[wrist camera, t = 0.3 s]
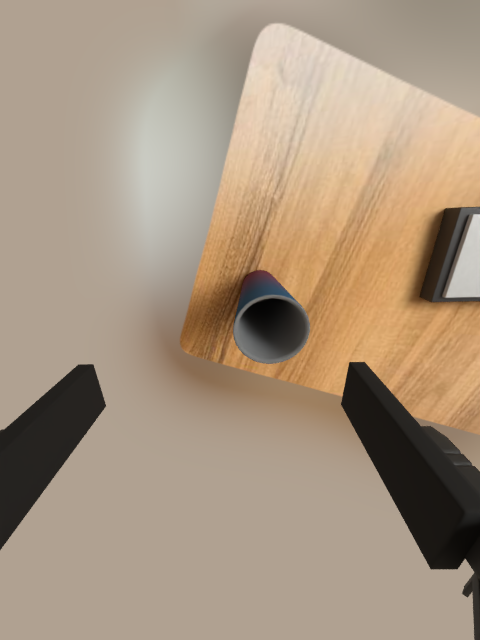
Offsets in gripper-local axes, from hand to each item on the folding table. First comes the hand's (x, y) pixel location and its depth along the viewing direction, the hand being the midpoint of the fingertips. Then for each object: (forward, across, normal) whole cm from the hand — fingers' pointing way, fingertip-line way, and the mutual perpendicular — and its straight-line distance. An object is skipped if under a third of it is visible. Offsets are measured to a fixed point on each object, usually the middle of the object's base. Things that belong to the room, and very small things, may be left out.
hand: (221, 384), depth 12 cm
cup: (+24, +4, -1) cm, 24 cm away
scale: (+24, +34, +3) cm, 41 cm away
